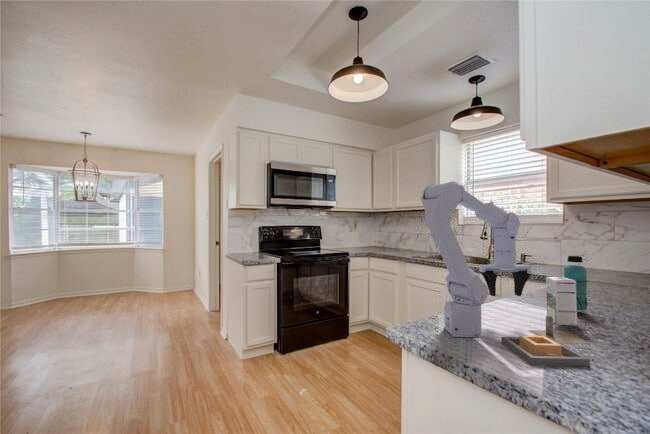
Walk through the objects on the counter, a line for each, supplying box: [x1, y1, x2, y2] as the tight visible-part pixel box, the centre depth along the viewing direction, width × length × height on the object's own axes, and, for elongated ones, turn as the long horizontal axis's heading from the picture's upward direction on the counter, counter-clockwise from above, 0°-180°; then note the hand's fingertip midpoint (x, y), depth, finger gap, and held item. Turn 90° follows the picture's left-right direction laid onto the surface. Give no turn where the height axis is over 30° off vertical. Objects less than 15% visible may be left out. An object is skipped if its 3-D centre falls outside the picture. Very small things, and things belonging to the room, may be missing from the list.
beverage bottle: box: [563, 255, 588, 311], centre depth 106 cm, size 6×7×20 cm
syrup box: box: [545, 276, 578, 326], centre depth 92 cm, size 6×6×14 cm
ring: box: [519, 335, 563, 357], centre depth 70 cm, size 7×6×3 cm
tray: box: [501, 336, 591, 371], centre depth 70 cm, size 12×12×2 cm
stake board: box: [528, 315, 592, 345], centre depth 80 cm, size 10×9×6 cm
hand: (505, 295), depth 91 cm, fingers open, 7 cm apart
